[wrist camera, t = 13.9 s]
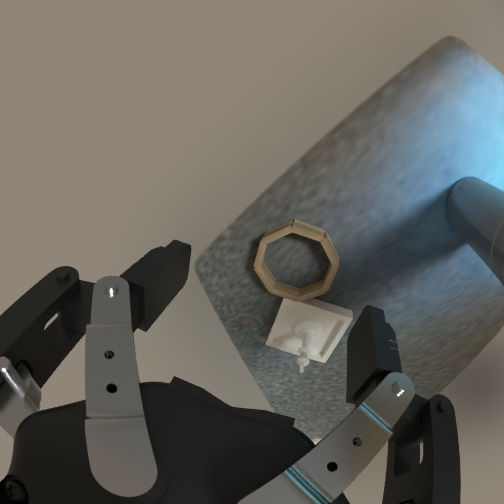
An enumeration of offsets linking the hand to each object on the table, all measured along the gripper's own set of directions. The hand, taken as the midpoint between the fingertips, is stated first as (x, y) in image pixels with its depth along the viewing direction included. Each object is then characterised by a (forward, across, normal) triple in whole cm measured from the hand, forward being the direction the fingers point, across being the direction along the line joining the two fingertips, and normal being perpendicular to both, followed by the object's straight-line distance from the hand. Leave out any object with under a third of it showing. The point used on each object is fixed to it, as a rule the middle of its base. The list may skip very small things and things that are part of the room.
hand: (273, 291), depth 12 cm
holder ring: (+28, -2, +13) cm, 31 cm away
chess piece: (+27, -8, +25) cm, 38 cm away
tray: (+28, -8, +25) cm, 38 cm away
